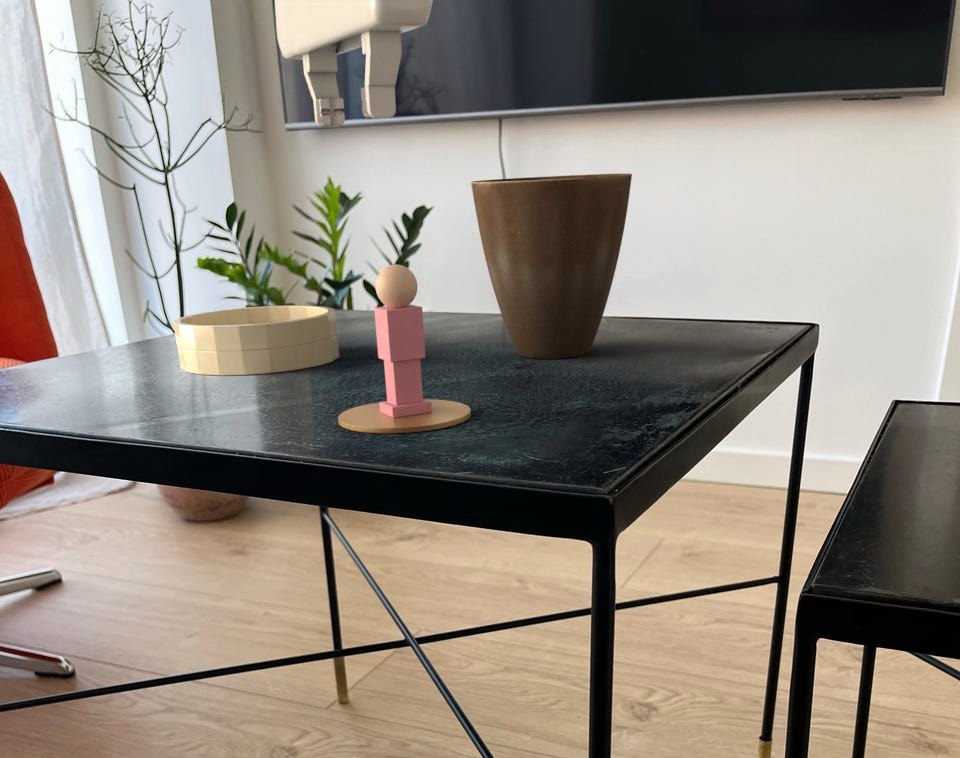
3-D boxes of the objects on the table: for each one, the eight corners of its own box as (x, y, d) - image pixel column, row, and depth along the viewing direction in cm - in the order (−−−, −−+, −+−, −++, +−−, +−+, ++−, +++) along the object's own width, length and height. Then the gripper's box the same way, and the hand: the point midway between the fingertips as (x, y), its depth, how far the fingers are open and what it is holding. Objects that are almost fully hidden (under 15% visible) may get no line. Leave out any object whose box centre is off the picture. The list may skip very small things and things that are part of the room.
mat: (367, 440, 70) (367, 434, 70) (320, 415, 79) (319, 410, 78) (494, 420, 74) (494, 414, 74) (436, 398, 83) (436, 393, 82)
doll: (394, 418, 75) (382, 267, 70) (378, 412, 77) (366, 265, 73) (433, 412, 76) (424, 263, 71) (417, 406, 78) (406, 261, 74)
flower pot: (650, 359, 95) (654, 171, 89) (494, 371, 93) (487, 180, 86) (603, 337, 109) (604, 173, 102) (466, 347, 106) (458, 180, 100)
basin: (203, 388, 92) (194, 331, 89) (167, 366, 104) (159, 315, 102) (362, 368, 98) (357, 314, 96) (310, 349, 110) (305, 301, 108)
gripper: (242, -90, 71) (265, 131, 77) (343, -179, 54) (363, 112, 60) (328, -84, 73) (344, 130, 79) (449, -166, 57) (459, 112, 62)
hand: (353, 122), depth 69 cm, fingers open, 8 cm apart
